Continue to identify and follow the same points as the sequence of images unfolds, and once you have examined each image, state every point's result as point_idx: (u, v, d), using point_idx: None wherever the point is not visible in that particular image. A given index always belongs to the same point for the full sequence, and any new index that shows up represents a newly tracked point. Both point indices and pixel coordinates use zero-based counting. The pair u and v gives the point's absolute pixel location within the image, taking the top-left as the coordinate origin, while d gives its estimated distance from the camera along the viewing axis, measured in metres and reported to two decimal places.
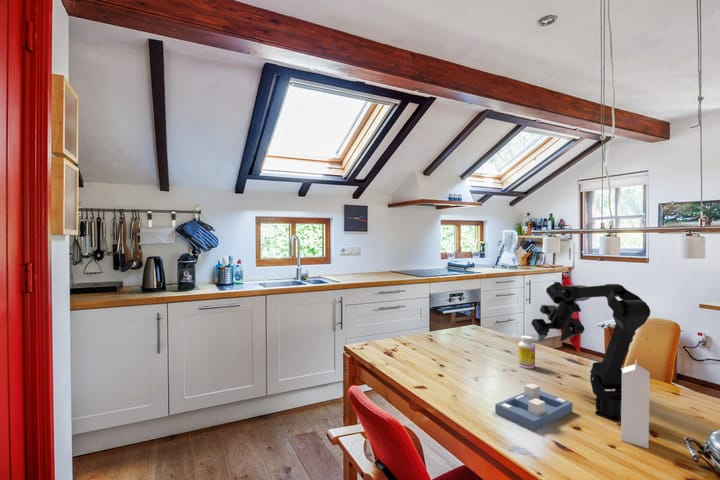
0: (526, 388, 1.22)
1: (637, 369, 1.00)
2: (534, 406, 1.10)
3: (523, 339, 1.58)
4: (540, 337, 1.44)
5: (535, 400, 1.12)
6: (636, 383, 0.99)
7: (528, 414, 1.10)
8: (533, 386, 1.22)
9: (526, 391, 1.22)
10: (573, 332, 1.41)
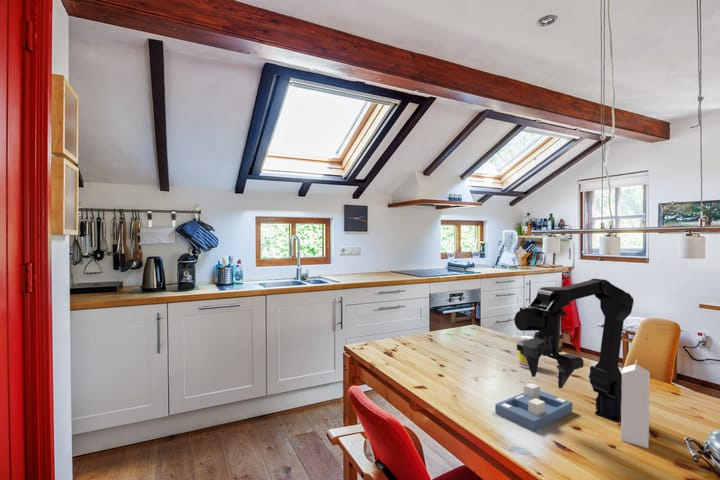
0: (526, 388, 1.22)
1: (637, 369, 1.00)
2: (534, 406, 1.10)
3: (523, 339, 1.58)
4: (566, 379, 1.04)
5: (535, 400, 1.12)
6: (636, 383, 0.99)
7: (528, 414, 1.10)
8: (533, 386, 1.22)
9: (526, 391, 1.22)
10: None
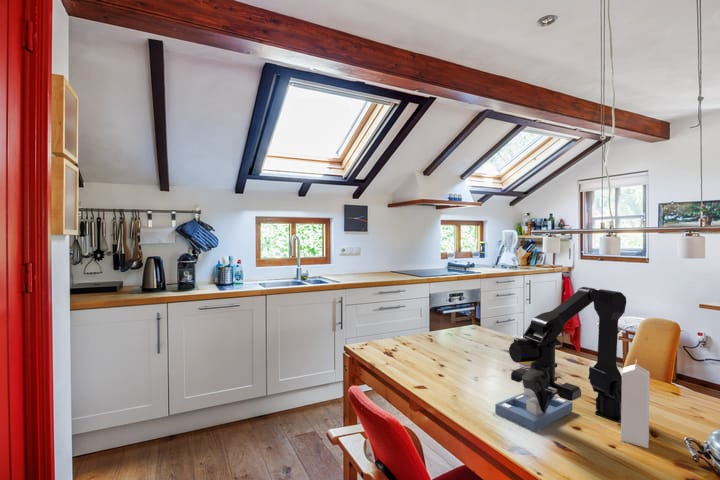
0: (526, 388, 1.22)
1: (637, 369, 1.00)
2: (532, 405, 1.10)
3: None
4: (549, 402, 1.09)
5: (533, 399, 1.12)
6: (636, 383, 0.99)
7: (528, 414, 1.10)
8: None
9: (526, 391, 1.22)
10: None
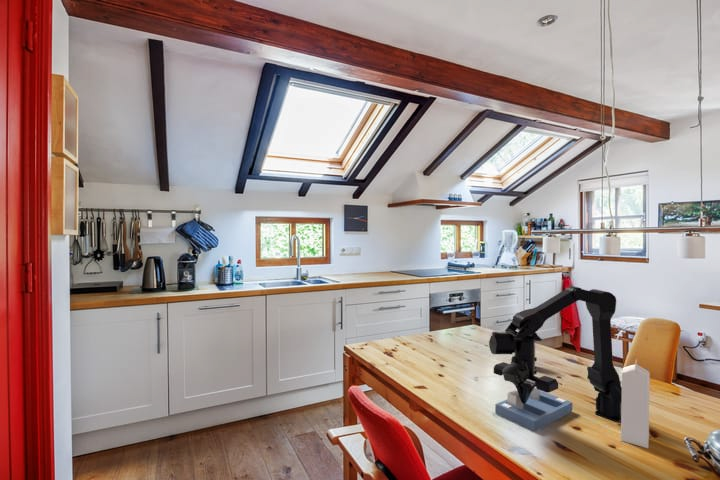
0: None
1: (637, 369, 1.00)
2: (513, 397, 1.16)
3: None
4: (529, 394, 1.14)
5: (514, 392, 1.18)
6: (636, 383, 0.99)
7: (528, 414, 1.10)
8: None
9: None
10: None
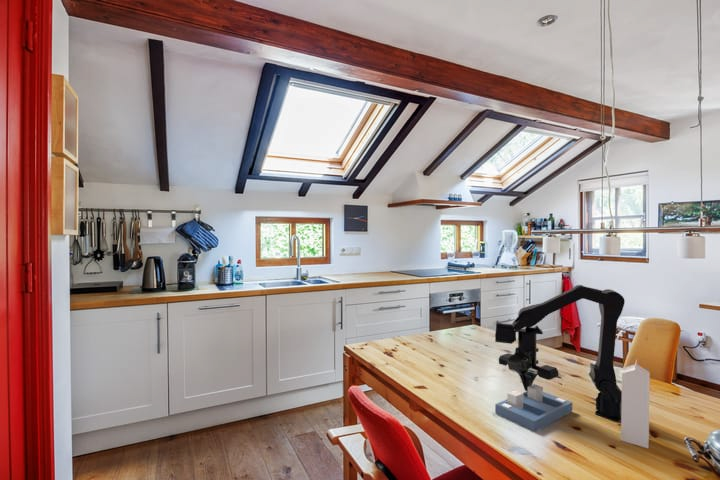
0: (529, 389, 1.22)
1: (637, 369, 1.00)
2: (513, 397, 1.16)
3: None
4: (531, 382, 1.24)
5: (514, 392, 1.18)
6: (636, 383, 0.99)
7: (528, 414, 1.10)
8: (536, 387, 1.22)
9: (529, 392, 1.22)
10: None
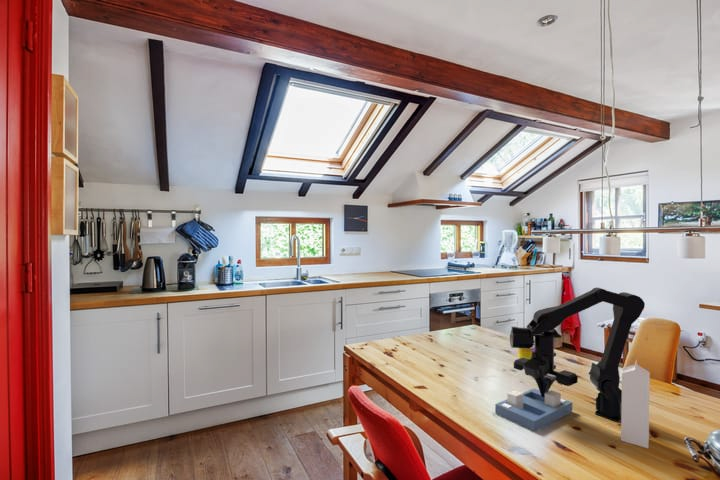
0: (546, 396, 1.17)
1: (637, 369, 1.00)
2: (513, 397, 1.16)
3: None
4: (548, 388, 1.19)
5: (514, 392, 1.18)
6: (636, 383, 0.99)
7: (528, 414, 1.10)
8: (554, 393, 1.17)
9: (546, 399, 1.17)
10: None
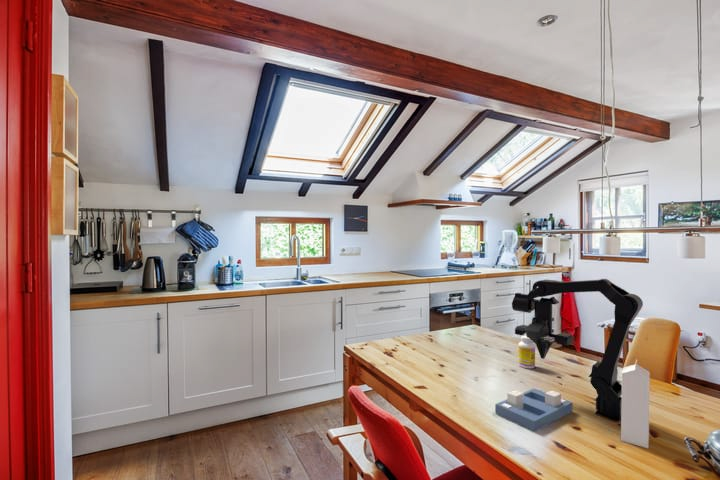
0: (547, 396, 1.17)
1: (637, 369, 1.00)
2: (513, 397, 1.16)
3: (523, 339, 1.58)
4: (547, 350, 1.30)
5: (514, 392, 1.18)
6: (636, 383, 0.99)
7: (528, 414, 1.10)
8: (554, 394, 1.17)
9: (547, 399, 1.17)
10: (542, 337, 1.33)
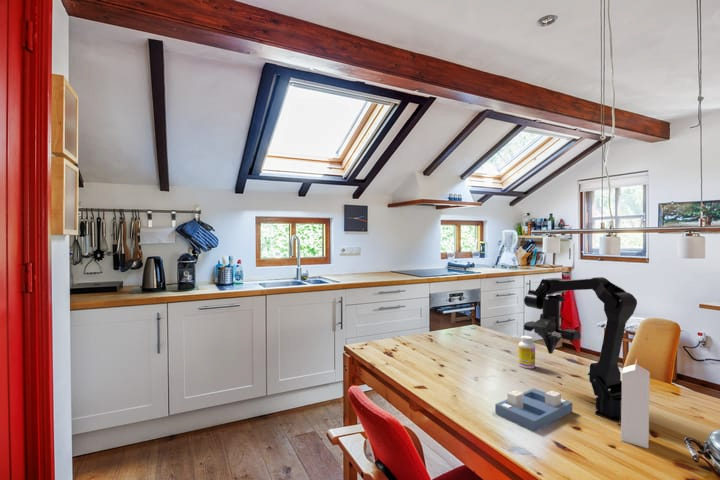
0: (547, 396, 1.17)
1: (637, 369, 1.00)
2: (513, 397, 1.16)
3: (523, 339, 1.58)
4: (555, 346, 1.36)
5: (514, 392, 1.18)
6: (636, 383, 0.99)
7: (528, 414, 1.10)
8: (554, 394, 1.17)
9: (547, 399, 1.17)
10: (550, 333, 1.39)
